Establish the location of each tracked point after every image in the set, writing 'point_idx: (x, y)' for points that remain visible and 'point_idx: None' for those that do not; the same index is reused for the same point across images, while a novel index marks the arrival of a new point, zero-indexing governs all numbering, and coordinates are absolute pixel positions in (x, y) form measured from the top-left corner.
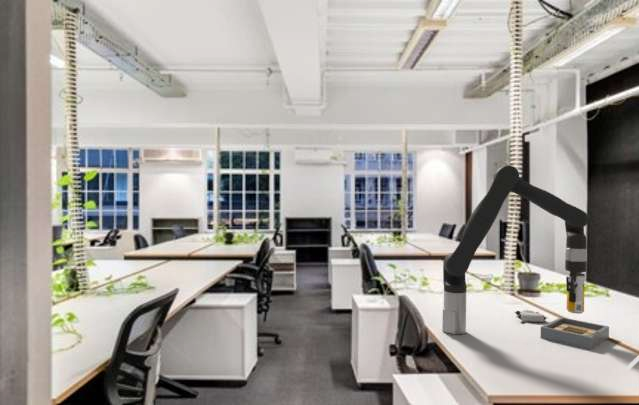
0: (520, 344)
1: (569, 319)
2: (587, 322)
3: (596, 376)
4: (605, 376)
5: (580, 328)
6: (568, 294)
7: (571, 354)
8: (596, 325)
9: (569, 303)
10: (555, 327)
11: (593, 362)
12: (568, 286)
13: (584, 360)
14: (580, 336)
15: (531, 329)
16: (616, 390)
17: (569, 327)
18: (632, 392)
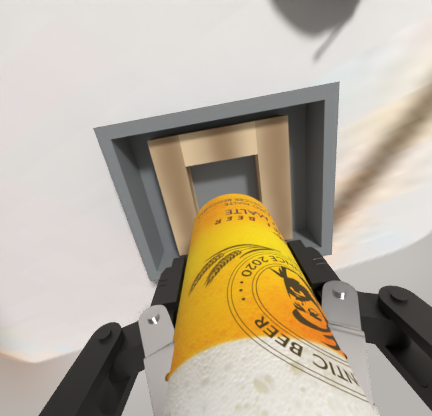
0: (11, 112)
1: (324, 129)
2: (331, 194)
3: (37, 316)
4: (55, 322)
5: (269, 192)
6: (186, 272)
7: (99, 238)
8: (321, 223)
9: (190, 242)
10: (197, 135)
11: (101, 284)
12: (91, 382)
13: (93, 271)
14: (142, 255)
15: (211, 5)
16: (20, 350)
17: (257, 158)
18: (40, 360)
